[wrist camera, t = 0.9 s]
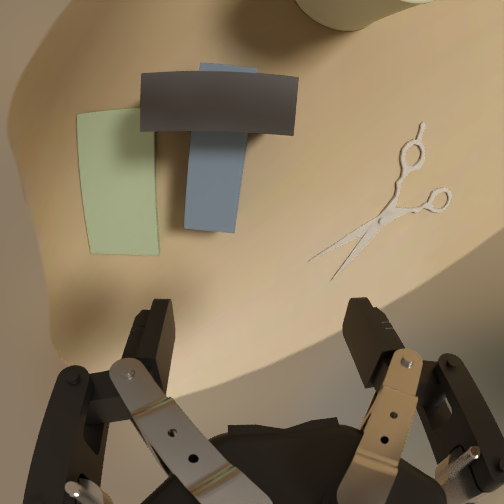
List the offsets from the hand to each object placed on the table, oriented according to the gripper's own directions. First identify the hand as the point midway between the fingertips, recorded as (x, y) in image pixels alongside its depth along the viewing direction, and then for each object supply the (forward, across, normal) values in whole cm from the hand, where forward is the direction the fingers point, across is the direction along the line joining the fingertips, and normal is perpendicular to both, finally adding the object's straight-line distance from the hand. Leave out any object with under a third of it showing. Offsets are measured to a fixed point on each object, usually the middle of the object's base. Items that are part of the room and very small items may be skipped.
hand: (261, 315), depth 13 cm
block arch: (+18, +2, -9) cm, 20 cm away
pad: (+18, +12, -1) cm, 22 cm away
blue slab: (+18, +2, -5) cm, 19 cm away
